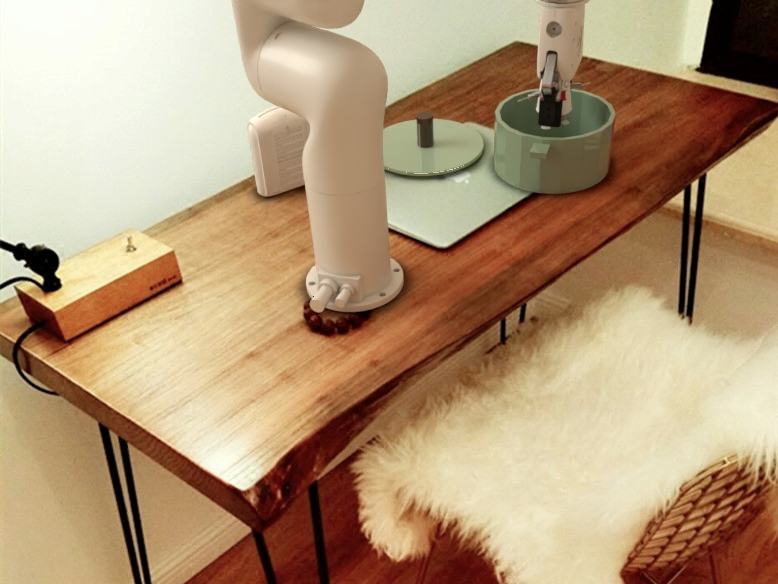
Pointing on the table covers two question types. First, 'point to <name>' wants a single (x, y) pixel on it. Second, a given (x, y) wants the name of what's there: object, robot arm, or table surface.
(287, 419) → the table surface
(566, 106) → the toy figure
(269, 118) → the photo printer
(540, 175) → the pot
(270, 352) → the table surface
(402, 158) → the lid
